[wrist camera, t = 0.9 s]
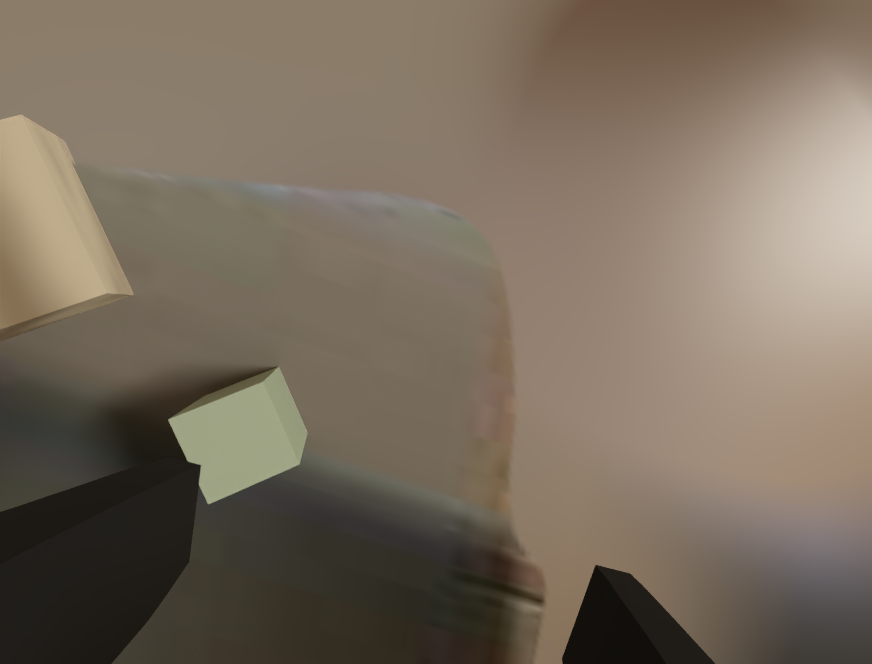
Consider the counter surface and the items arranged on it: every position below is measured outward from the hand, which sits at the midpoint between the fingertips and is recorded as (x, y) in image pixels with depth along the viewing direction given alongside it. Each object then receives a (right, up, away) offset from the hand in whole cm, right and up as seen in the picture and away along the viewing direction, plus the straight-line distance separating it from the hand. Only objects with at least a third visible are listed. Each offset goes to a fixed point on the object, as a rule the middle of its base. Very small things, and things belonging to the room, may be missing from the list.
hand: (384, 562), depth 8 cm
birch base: (-19, +8, +13) cm, 25 cm away
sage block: (-9, 0, +16) cm, 18 cm away
